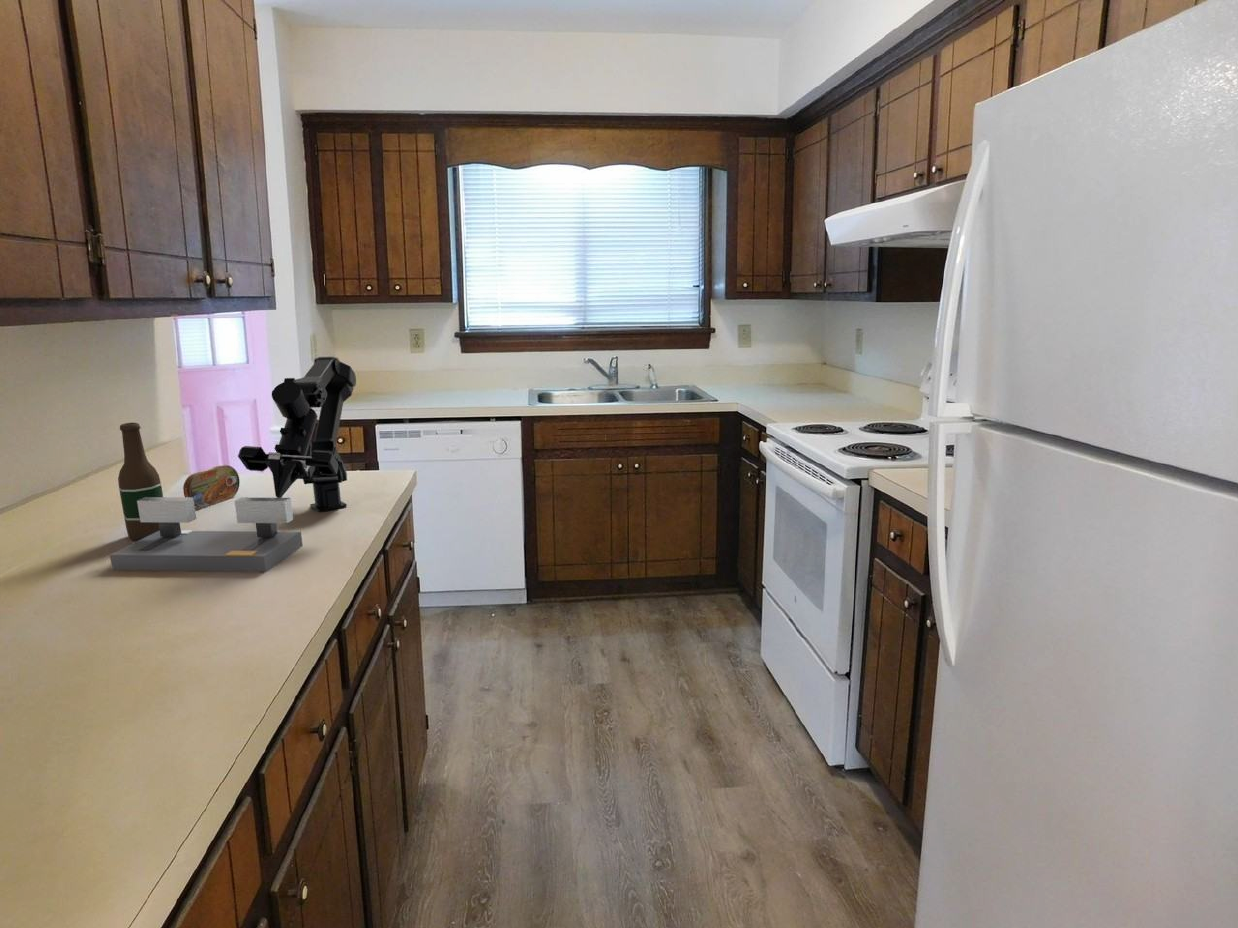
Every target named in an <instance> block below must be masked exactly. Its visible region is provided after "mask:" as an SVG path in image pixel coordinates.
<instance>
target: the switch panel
mask: <svg viewBox="0 0 1238 928" xmlns="http://www.w3.org/2000/svg"><path fill="white" fill-rule="evenodd" d="M303 546H304V545H303V538H302V532H301V531H277V535H275V536H274V537H272V538H271V537H257V530H255V531H254V530H251V531H247V530H246V531H244V530H243V531H241V530H240V531H239V530H238V531H237V530H234V531H232V530H193V529H189V530H187V529H185V530H183V529H181V534H179V535H177V536H175V537H161V536H160V531H157V532H155V533H153V534H151V535H149V536H147V537H145V538H143V539H141V540H139V541H135V542H133V543H131V544H129V545H127V546H125V547H122V548H121V549H118V550H117V551H115V552H113V553H112V552H111V554H109V558H110V563H111V567H112V568H111V569H112V571H166V572H167V571H168V572H169V571H170V572H171V571H172V572H173V571H175V572H177V571H182V572H184V571H185V572H189V571H190V572H248V573H249V572H251V573H252V572H255V573H256V572H258V573H261V572H263V573H265V572H268V571H269V570H271V569H272V568H274V567H275V566H276V565H278V564H279V563H280V562H282V561H283V560H285V559H286V558H288V557H289V556H291V555H292V554H294V553H295V552H296V551H298V550H299V549H301V548H302V547H303Z"/></svg>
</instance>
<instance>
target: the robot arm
mask: <svg viewBox="0 0 1238 928" xmlns="http://www.w3.org/2000/svg"><path fill="white" fill-rule="evenodd" d="M356 385H357V376H356V373H355V371H354V370H353V368H352V367H351V366H350V365H349V364H346V363H344V362H342V361H340V359H339V358H338V357H335V356H318V357H316V358H314V360H313V364H312V366H311V367H310V368H309V370H308V371H307V372H306V374H305V375H304V376H303V377H300V378H296V379H295V377H286V378H284V379H283V382H281V383H279V384H277V385H276V386H275V387H274V389H273V390H272V391H271V398H272V400H273V402H274V404H275V405H276V407H277V410H279V413H280V414H281V415H282V417H283V418H284V419H286V421H285V424H284V426H283V427H280V429H279V433H280V435H281V436H280V440H279V443H277V444H275V445H274V451H275V452H271V451H269V452H268V453H266V452H265V451H264V449H263V448H262V446H251V445H250V446H249V445H243V446H242V447H240V449H239V452H238V454H237V457H238V459H239V461H240V462H241V463H242V464H243V466H244V467H245V469H246V470H249V471H251V472H253V471H255V472H264V471H266V470H267V469H269V470H270V472H271V473H272V481H273V486H274V493H275V494H274V495H275V498H283V496H284V495H285V493H286V492H287V491H288V490H289V488H291V487H292V485H293V484H294V483H295V482H296V481H297V480H303V484H304V485H307V484H308V485H309V484H310V485H311V484H312V488H313V489H312V490H313V497H314V503H310V504H309V506H310V507H311V508H312V509H314V510H316V511H317V512H318V513H319V512H325V511H332V510H335V509H341V508H345V507H347V506H348V505H347V503H345V502H343V501H342V499H341V497H342V496H341V489H340V484H341V483H343V482H346V481H348V473H347V468H346V466H345V464H344V461H343V460H342V458H341V455H340V454H339V451H338V448H337V439H338V434H339V429H340V425H341V424H340V422H341V418H342V411H343V407H344V402H346V401H347V400H348V399H349V398H350V397H352V394H353V392H354V391H353V390H354V387H356ZM313 408H315V409H316V408H320V412H319V417H318V414H317V413H316V411H315V409H313ZM315 427H316V432H315V437H314V440H312V437H313V434H314V431H315Z"/></svg>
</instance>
